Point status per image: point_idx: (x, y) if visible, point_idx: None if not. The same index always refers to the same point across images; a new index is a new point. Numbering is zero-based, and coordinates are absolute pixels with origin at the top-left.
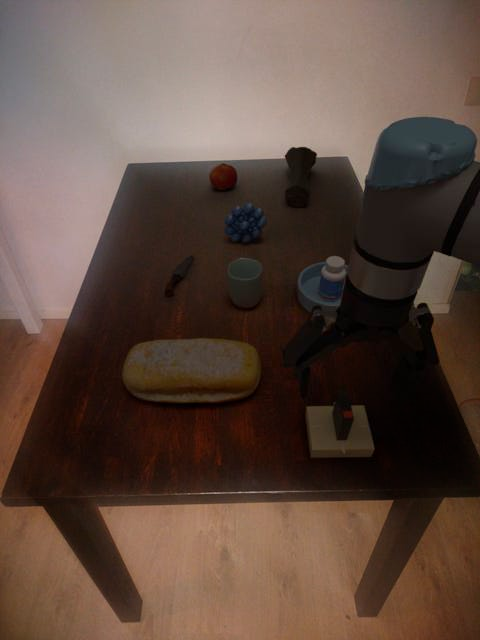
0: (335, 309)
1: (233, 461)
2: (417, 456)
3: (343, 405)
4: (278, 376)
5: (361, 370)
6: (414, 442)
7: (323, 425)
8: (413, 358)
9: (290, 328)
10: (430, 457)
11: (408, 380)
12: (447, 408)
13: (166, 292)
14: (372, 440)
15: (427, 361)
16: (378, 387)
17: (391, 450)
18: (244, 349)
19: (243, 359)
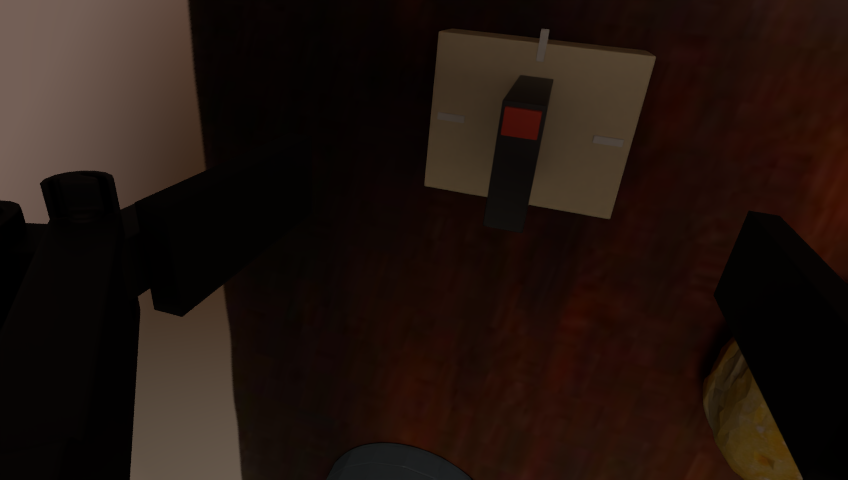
0: (409, 478)
1: None
2: (321, 13)
3: (524, 166)
4: (641, 337)
5: (393, 294)
6: (317, 58)
7: (578, 141)
8: (63, 265)
9: (546, 460)
10: (288, 6)
11: (210, 169)
12: (212, 143)
13: None
14: (436, 62)
15: (36, 233)
16: (364, 237)
17: (386, 42)
18: (788, 472)
19: None
